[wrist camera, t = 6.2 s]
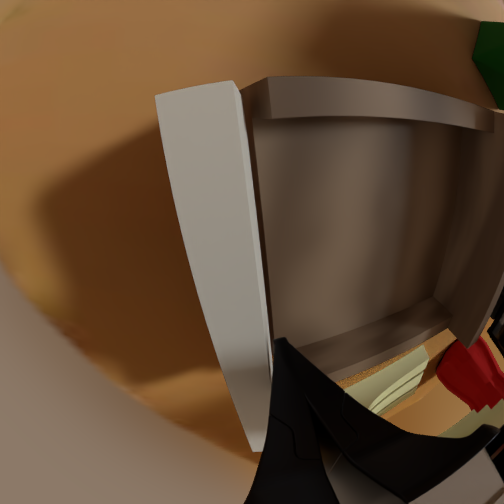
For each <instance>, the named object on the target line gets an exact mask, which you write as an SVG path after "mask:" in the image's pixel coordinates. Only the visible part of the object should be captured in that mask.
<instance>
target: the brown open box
mask: <svg viewBox="0 0 504 504" xmlns="http://www.w3.org/2000/svg"><path fill="white" fill-rule="evenodd" d="M240 94H241V96H242V98H243V106H244V114H245V122H246V130H247V138H248V146H249V155H250V163H251V172H252V180H253V189H254V197H255V206H256V215H257V223H258V232H259V241H260V250H261V259H262V268H263V277H264V287H265V296H266V305H267V315H268V324H269V334H270V344H271V352H272V355H273V357H274V354H273V344H272V341H273V339H276V338H281V337H286V338H287V340H288V342H289V343H290V344H292V345H293V346H294V347H295V348H296V349H297V350H298V351H299V352H300V353H302V354H303V355H304V356H305V357H306V358H307V359H308V360H309V361H311V362H312V363H313V364H314V365H315V366H316V367H317V368H319V369H320V370H321V371H322V372H323V373H324V374H325V375H327V376H328V377H329V378H330V379H331V380H332V381H334V382H337V381H340V380H342V379H345V378H347V377H350V376H352V375H355V374H357V373H360V372H362V371H364V370H367V369H369V368H371V367H374V366H376V365H378V364H380V363H382V362H385V361H387V360H389V359H391V358H393V357H395V356H397V355H399V354H401V353H403V352H405V351H407V350H409V349H411V348H413V347H415V346H417V345H419V344H421V343H422V342H424V341H426V340H428V339H430V338H431V337H433V336H435V335H437V334H438V333H440V332H442V331H443V330H445V329H447V328H448V329H449V330H450V331H451V332H452V333H453V334H454V335H455V336H456V337H457V339H458V340H459V341H460V342H461V343H462V344H463V345H464V346H465V347H466V348H467V349H468V348H469V347H471V346H472V345H473V344H474V343H476V342H477V340H478V338H479V336H480V335H481V333H482V331H483V329H484V327H485V325H486V323H487V321H488V319H489V317H490V315H491V313H492V311H493V309H494V307H495V305H496V303H497V300H498V298H499V296H500V293H501V291H502V289H503V286H504V114H502V113H498V112H494V111H492V110H489V109H486V108H484V107H481V106H478V105H475V104H472V103H469V102H466V101H463V100H460V99H457V98H453V97H450V96H446V95H442V94H439V93H435V92H431V91H426V90H422V89H417V88H413V87H408V86H402V85H397V84H391V83H384V82H377V81H370V80H361V79H351V78H338V77H318V76H277V77H266V78H264V79H262V80H260V81H258V82H256V83H254V84H251V85H249V86H247V87H245V88H243V89H242V90H240Z"/></svg>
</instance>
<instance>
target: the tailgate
mask: <svg viewBox="0 0 504 504" xmlns="http://www.w3.org/2000/svg"><path fill="white" fill-rule="evenodd" d="M155 101H156V107H157V114H158V120H159V126H160V132H161V137H162V143H163V149H164V154H165V159H166V164H167V169H168V174H169V179H170V184H171V189H172V193H173V198H174V202H175V207H176V211H177V216H178V220H179V224H180V228H181V232H182V236H183V240H184V244H185V248H186V252H187V256H188V260H189V264H190V267H191V271H192V275H193V278H194V282H195V286H196V289H197V293H198V296H199V300H200V303H201V306H202V310H203V313H204V316H205V320H206V323H207V326H208V329H209V333H210V336H211V339H212V342H213V345H214V348H215V351H216V354H217V357H218V360H219V363H220V366H221V369H222V372H223V375H224V378H225V381H226V383H227V386H228V389H229V392H230V395H231V397H232V400H233V403H234V405H235V408H236V411H237V413H238V416H239V419H240V421H241V424H242V426H243V429H244V431H245V434H246V436H247V439H248V441H249V444H250V446H251V449H252V451H253V452H262V451H263V447H264V443H265V438H266V433H267V426H268V416H269V407H270V396H271V384H272V372H273V364H272V353H271V344H270V334H269V324H268V315H267V305H266V296H265V287H264V277H263V268H262V259H261V250H260V241H259V232H258V223H257V215H256V206H255V197H254V189H253V180H252V172H251V163H250V155H249V146H248V138H247V130H246V122H245V114H244V106H243V98H242V96H241V94H240V92H239V90H238V89H237V87H236V85H235V83H234V82H233V80H231V81H223V82H217V83H211V84H205V85H199V86H194V87H189V88H184V89H180V90H175V91H171V92H167V93H163V94H159V95H155Z"/></svg>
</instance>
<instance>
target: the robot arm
mask: <svg viewBox="0 0 504 504" xmlns="http://www.w3.org/2000/svg"><path fill="white" fill-rule="evenodd" d="M490 317H491V318H492V319H493V320H494V319H495V320H494V322H493V323H492V325H491V326H490V327H489V328H488V330H487V332H488V334H489V335H490V338H491V339H492V341H493V342H494V344H495V345H496V347H497V348H498V349H499V351H500V352H501V354H502V356H503V358H504V286H503V289H502V291H501V293H500V296H499V298H498V300H497V303H496V305H495V307H494V309H493V311H492V313H491V315H490ZM272 344H273V354H274V360H273V372H272V384H271V396H270V407H269V416H268V426H267V433H266V438H265V443H264V447H263V451H262V454H261V458H260V461H259V465H258V468H257V471H256V475H255V478H254V481H253V484H252V487H251V490H250V492H249V494H248V496H247V498H246V500H245V502H244V504H504V424H503V425H502V426H501V427H500V428H497V427H495V426H492V425H488V424H482V425H481V426H480V427H479V428H478V429H476V430H475V431H474V432H473V433H472V434H470V435H469V436H466V437H462V438H448V437H437V436H428V435H420V434H414V433H410V432H407V431H405V430H402V429H400V428H398V427H397V426H395V425H393V424H392V423H390V422H388V421H387V420H385V419H383V418H382V417H380V416H378V415H377V414H375V413H373V412H372V411H370V410H369V409H367V408H366V407H364V406H363V405H362V404H360V403H359V402H358V401H356V400H355V399H354V398H353V397H351V396H350V395H349V394H348V393H347V392H346V393H345V391H344V390H343V389H342V388H341V387H339V386H338V385H337V384H336V383H335V382H334V381H332V380H331V379H330V378H329V377H328V376H327V375H325V374H324V373H323V372H322V371H321V370H320V369H319V368H317V367H316V366H315V365H314V364H313V363H312V362H311V361H309V360H308V359H307V358H306V357H305V356H304V355H303V354H302V353H300V352H299V351H298V350H297V349H296V348H295V347H294V346H293V345H292V344H290V343H289V342H288V340H287V338H286V337H281V338H276V339H273V341H272Z"/></svg>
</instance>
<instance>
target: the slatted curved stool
mask: <svg viewBox="0 0 504 504" xmlns="http://www.w3.org/2000/svg"><path fill="white" fill-rule="evenodd" d="M428 360H429V356H428V354H427V352H426V350H425V348H424V345H422V346H420V347H419V348H417V349H416V350H414V351H413V352H411V353H409V354H408V355H406V356H405V357H403V358H401V359H400V360H398V361H396V362H395V363H393V364H391V365H390V366H388V367H386V368H384V369H383V370H381V371H379V372H377V373H375V374H373V375H372V376H370V377H368V378H366V379H364V380H362V381H360V382H358V383H356V384H354V385H352V386H350V387H348V388H346V389H344V391H345V393H346V392H347V393H348V394H349V395H350V396H351V397H353V398H354V399H355V400H356V401H358V402H359V403H360V404H362V405H363V406H364V407H366V408H367V409H369V410H370V411H372V412H373V413H375V414H377V415H378V416H382V415H383V414H385V413H386V412H388V411H389V410H390V409H392V408H393V407H395V406H396V405H398V404H399V403H401V402H402V401H404V400H406V399H407V398H409V397H410V396H412V395H413V394H414V393H415V391H416V389H417V387H418V386H417V385H418V384H419V382H420V380H421V378H422V375H423V373H424V371H423V370H424V369H425V368H426V365H427V363H428ZM482 424H488V425H492V426H495V427H497V428H500V427H501V426H502V425H503V424H504V400H503V399H501V400H500V401H499V402H498V403H497V404H496V405H495V406H494V407H493V408H492V409H490V407H489V406H488V405H486V406H485V407H484V408H483V409H482V410H481V411H479V412H478V413H477V412H476V411H475V410H474V409H473V410H472V411H471V412H470V413H469V414H468V415H467V416H465V417H464V418H463V419H461V420H460V421H459V422H458V423H456V424H455V425H453V426H452V427H451V428H449V429H448V430H447V431H445V432H443V433H441V434H440V435H438V436H437V437H448V438H462V437H466V436H469V435H470V434H472V433H473V432H474V431H475V430H476V429H478V428H479V427H480V426H481V425H482Z"/></svg>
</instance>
